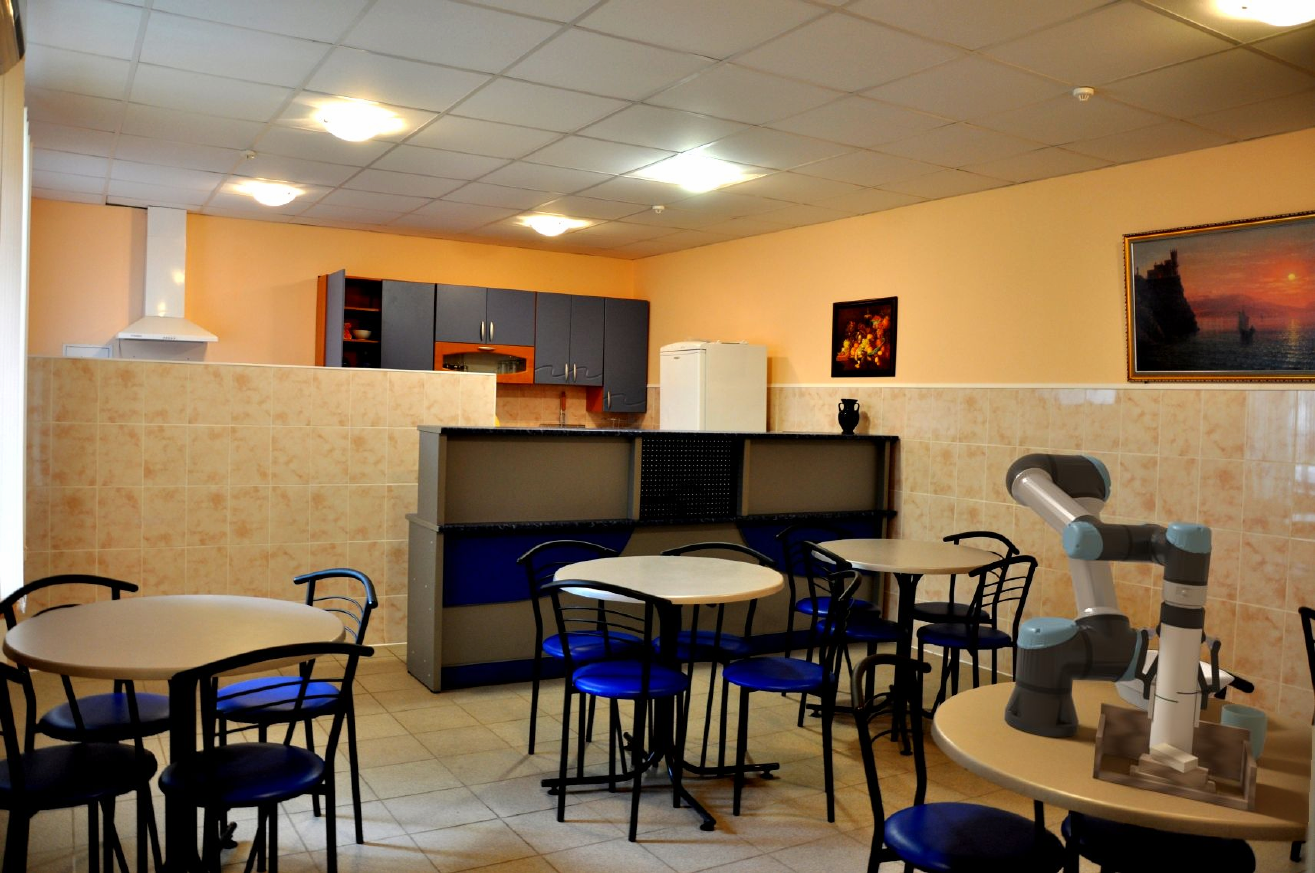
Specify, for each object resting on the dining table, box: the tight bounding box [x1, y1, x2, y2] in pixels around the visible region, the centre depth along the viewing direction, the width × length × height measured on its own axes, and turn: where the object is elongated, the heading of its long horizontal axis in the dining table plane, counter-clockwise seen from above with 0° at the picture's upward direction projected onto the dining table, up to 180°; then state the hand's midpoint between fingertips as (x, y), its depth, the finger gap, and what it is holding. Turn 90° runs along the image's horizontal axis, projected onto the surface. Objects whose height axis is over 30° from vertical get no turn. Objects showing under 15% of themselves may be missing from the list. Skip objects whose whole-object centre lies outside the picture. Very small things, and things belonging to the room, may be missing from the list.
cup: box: [1220, 704, 1268, 762], centre depth 195 cm, size 8×8×10 cm
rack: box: [1092, 702, 1258, 813], centre depth 182 cm, size 26×17×10 cm, turn 62°
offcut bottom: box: [1129, 764, 1216, 794], centre depth 178 cm, size 14×4×2 cm, turn 62°
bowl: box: [1114, 649, 1235, 712], centre depth 230 cm, size 24×25×10 cm
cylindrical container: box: [1149, 622, 1202, 755], centre depth 183 cm, size 7×7×25 cm
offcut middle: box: [1138, 753, 1209, 789], centre depth 178 cm, size 11×4×2 cm, turn 54°
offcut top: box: [1150, 743, 1198, 773], centre depth 178 cm, size 7×4×2 cm, turn 26°
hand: (1172, 720), depth 184 cm, fingers closed on cylindrical container, 7 cm apart
